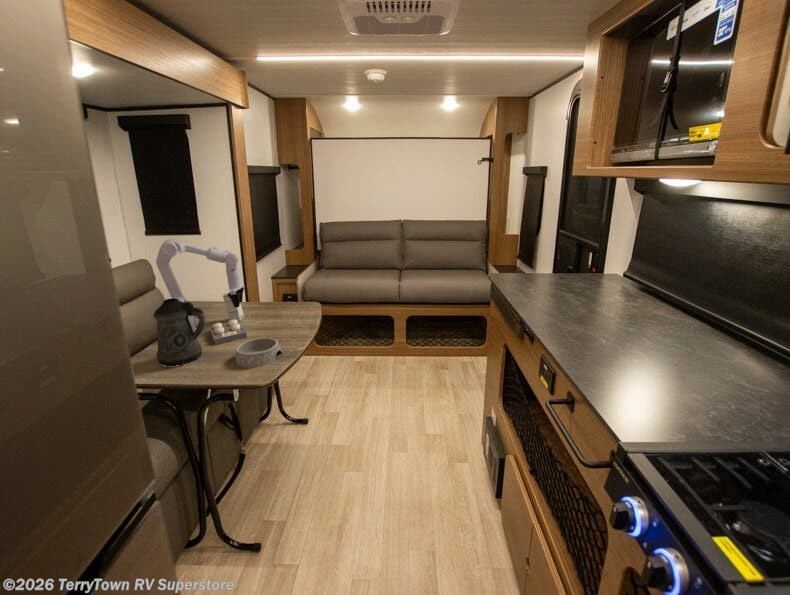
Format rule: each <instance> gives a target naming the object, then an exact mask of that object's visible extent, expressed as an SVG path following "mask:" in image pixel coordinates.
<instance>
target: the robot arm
mask: <svg viewBox="0 0 790 595" xmlns="http://www.w3.org/2000/svg"><path fill="white" fill-rule="evenodd" d="M186 252H187V253H191V254H196V255H201V256H204V257H206V258H207V260H209V261H212V262H217V263H220V264H223V263H224V264H225V272H226V277H227V285H228V290H229V291H230V293H228V297H229V298H230V299H231V301H232V303H233V305H234V307H239V303H240V302H241V303H243V294H244V290H245V285H244V284H243V285H242V281H241V280H242V279H241V273H240V268H239V264H238V262H239V258H238V257H237V254H236V253H234V252H232V251H228V250H223V249H219V248H217V247H216V246H213V247H212V246H211V247H209V248H205V247H201V246H199V245H194V244H192V243H189V242H184V241H180V240H175V239H166V240H165V241H164V242H163V243H162V244H161V245H160V247H159V249H158V252H157V257H156V259H155V265H156V267H157V269H158V271H159V273H160V275H161V276H160V277H161V278H162V280H163V282H164V284H165V287H166V289H167V290H168V293H169V296H170V297H171V298H170V299H173V298H174V299H178V300H179V301H181V302H189V301H188V300H187V299H186V298H185V296H184V294H183V292H182V289H181V287H180V286H179V283H178V281H177V278H176V276H175V274H174V272H173V270H172V266H171V265H170V262H171V260H172V258H173V257H175V256H176V255H177V254H178V253H179V254H183V253H186ZM194 317H195V316H194V315H192V316H188V318H189V321H190V324H191V326H192V329H193V332H195V331H196V329H197V327H196V322H195V318H194Z"/></svg>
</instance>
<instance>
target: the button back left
mask: <svg viewBox="0 0 790 595" xmlns="http://www.w3.org/2000/svg"><path fill="white" fill-rule="evenodd" d="M222 324H223V323H222V322H215V323H213V324H212V325H211V326H213V330H214V329H216V328H219V327H222Z"/></svg>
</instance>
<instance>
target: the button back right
mask: <svg viewBox="0 0 790 595" xmlns="http://www.w3.org/2000/svg"><path fill="white" fill-rule="evenodd" d="M227 323H229V327H231V325H233V324H238V322H237V320H235V319H234V320H228V322H227Z"/></svg>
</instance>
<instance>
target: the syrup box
mask: <svg viewBox="0 0 790 595" xmlns="http://www.w3.org/2000/svg"><path fill="white" fill-rule="evenodd" d="M228 293H230V290H229V291H227V292H225V293H224V294H222V297H223V302H224V305H225V308H226V312H227V317H228V321H230V320H234V319H235V320H237V321H238V320H239V321H242V320H243V318H245V313H244V309H243V305H242V302H240V303H239V307H234V305H233V303H232V301H231V299H230V298H229V297H228Z"/></svg>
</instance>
